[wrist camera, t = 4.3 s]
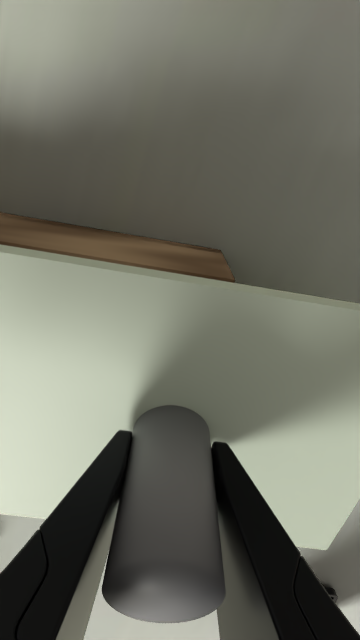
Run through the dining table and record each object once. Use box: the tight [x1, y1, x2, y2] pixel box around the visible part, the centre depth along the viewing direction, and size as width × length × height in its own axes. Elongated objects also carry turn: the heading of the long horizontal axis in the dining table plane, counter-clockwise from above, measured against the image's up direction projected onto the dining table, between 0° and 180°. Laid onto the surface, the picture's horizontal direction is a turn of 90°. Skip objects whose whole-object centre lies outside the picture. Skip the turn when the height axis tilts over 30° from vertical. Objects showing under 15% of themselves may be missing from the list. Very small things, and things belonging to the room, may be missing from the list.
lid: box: [0, 244, 360, 623], centre depth 8 cm, size 14×10×5 cm
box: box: [0, 212, 235, 283], centre depth 12 cm, size 14×10×4 cm
